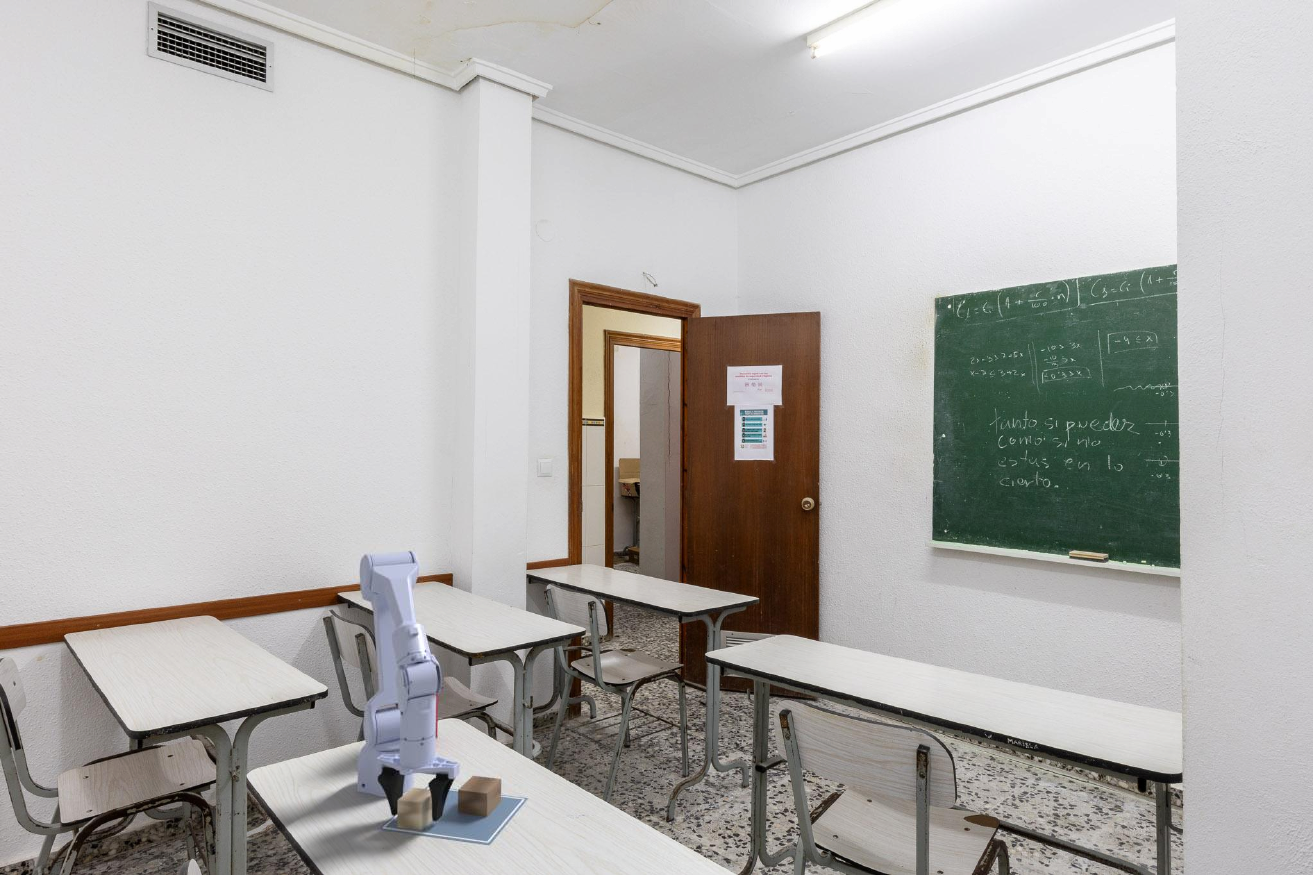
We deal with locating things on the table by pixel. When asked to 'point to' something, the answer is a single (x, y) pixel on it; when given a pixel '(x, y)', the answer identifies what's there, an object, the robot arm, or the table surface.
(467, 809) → the walnut block
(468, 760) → the table surface
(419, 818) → the maple cube
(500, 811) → the board
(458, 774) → the robot arm
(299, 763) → the table surface
